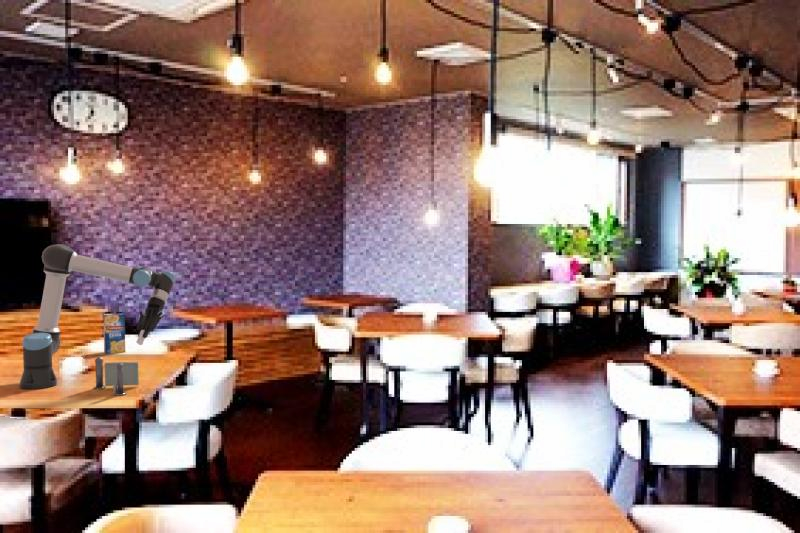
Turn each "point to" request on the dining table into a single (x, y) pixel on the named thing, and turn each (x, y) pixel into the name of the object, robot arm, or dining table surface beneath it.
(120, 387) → the latch post
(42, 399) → the dining table surface
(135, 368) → the gate
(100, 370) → the hinge post
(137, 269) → the robot arm
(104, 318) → the blue cracker box
